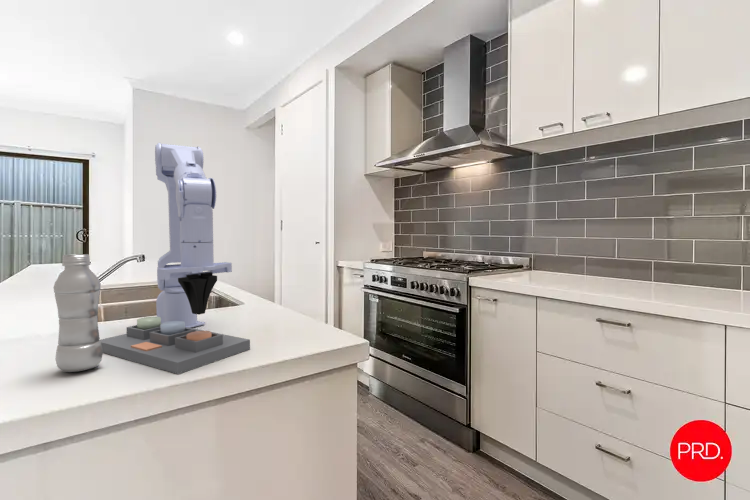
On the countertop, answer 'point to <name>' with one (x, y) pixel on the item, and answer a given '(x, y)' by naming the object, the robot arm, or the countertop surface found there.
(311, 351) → the countertop surface
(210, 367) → the countertop surface
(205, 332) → the button terracotta
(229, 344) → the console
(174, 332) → the button slate
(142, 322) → the button sage
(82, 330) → the plastic bottle
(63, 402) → the countertop surface
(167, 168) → the robot arm
